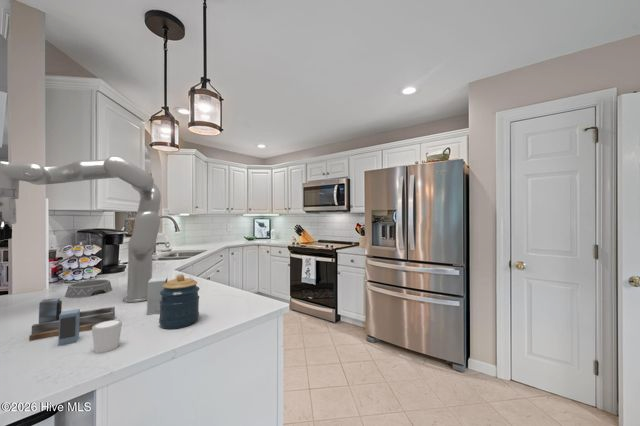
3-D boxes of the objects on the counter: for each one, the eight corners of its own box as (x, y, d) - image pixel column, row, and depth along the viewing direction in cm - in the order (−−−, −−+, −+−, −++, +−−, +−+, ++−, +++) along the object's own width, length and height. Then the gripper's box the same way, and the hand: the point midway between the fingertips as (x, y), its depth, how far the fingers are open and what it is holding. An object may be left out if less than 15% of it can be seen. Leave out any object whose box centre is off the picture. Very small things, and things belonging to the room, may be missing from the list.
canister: (156, 332, 85) (158, 279, 86) (160, 319, 97) (161, 272, 97) (199, 325, 91) (200, 276, 92) (198, 313, 103) (199, 269, 103)
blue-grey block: (61, 340, 79) (62, 311, 80) (78, 337, 82) (79, 308, 82) (57, 346, 76) (58, 315, 76) (76, 342, 78) (77, 313, 78)
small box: (164, 312, 104) (165, 280, 104) (146, 315, 101) (147, 282, 101) (167, 306, 111) (167, 276, 111) (149, 308, 108) (150, 278, 108)
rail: (114, 315, 100) (115, 288, 100) (112, 325, 90) (113, 296, 91) (41, 327, 88) (42, 297, 89) (29, 341, 79) (30, 306, 79)
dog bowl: (119, 290, 136) (119, 280, 137) (75, 300, 120) (75, 288, 120) (101, 287, 143) (101, 277, 144) (57, 295, 127) (58, 285, 127)
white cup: (103, 342, 78) (104, 319, 78) (126, 341, 79) (127, 319, 79) (84, 354, 71) (85, 329, 71) (110, 353, 72) (111, 328, 72)
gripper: (12, 193, 92) (10, 240, 91) (23, 196, 105) (22, 238, 104) (-22, 191, 87) (-24, 241, 86) (-6, 195, 100) (-7, 238, 99)
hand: (1, 239), depth 95 cm, fingers open, 9 cm apart
